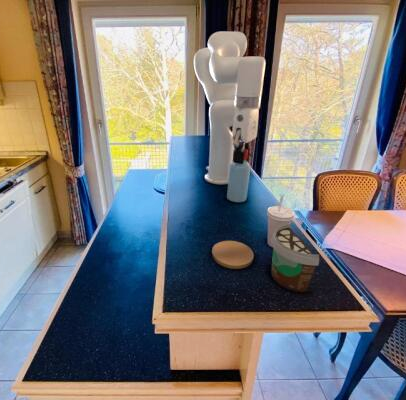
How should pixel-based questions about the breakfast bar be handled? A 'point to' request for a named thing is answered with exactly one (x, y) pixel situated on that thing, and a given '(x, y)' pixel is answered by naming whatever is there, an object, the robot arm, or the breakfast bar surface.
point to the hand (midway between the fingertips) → (241, 160)
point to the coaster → (232, 254)
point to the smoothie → (278, 218)
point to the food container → (292, 260)
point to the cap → (245, 153)
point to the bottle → (238, 181)
